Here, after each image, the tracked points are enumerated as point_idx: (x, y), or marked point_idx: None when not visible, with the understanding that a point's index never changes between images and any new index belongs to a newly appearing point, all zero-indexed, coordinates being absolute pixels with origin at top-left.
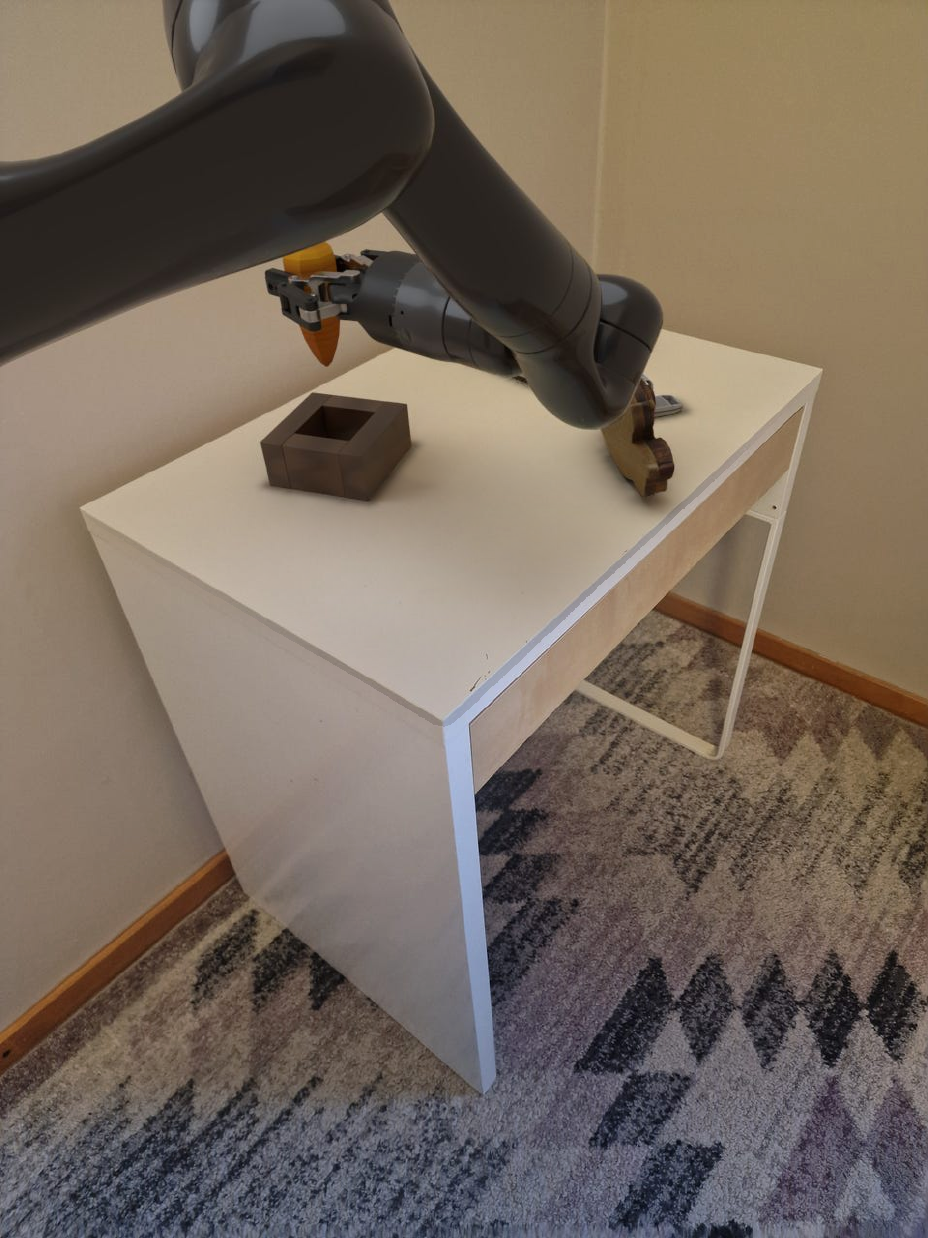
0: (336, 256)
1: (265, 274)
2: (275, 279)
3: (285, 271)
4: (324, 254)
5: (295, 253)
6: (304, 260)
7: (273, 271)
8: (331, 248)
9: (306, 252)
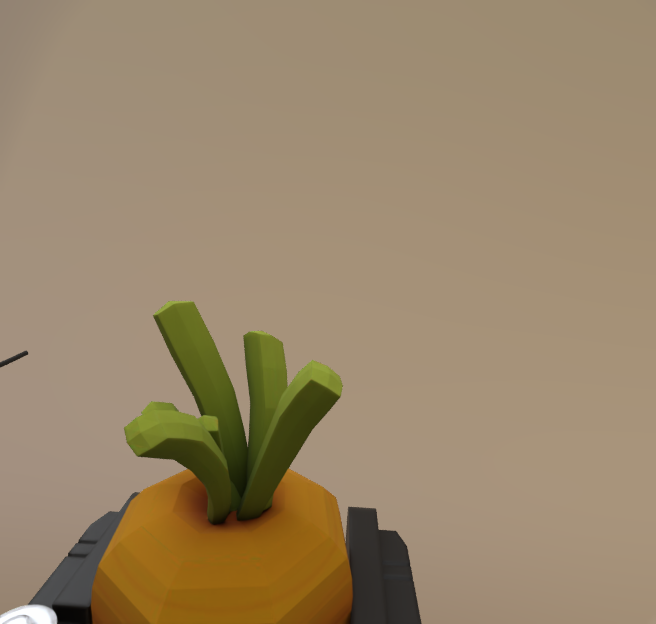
0: (373, 607)
1: None
2: (80, 554)
3: None
4: (205, 620)
5: (130, 519)
6: (108, 583)
7: (118, 517)
8: (317, 585)
9: (145, 551)
